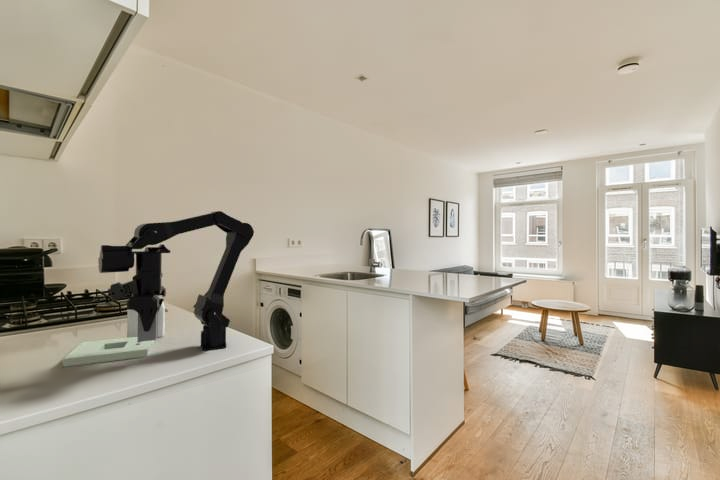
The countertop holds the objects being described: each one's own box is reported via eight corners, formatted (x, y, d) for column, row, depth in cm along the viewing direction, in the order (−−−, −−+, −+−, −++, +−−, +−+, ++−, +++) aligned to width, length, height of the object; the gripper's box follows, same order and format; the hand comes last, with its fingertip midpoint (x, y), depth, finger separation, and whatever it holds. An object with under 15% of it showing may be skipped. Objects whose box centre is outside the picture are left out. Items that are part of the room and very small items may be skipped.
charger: (157, 335, 88) (158, 306, 88) (155, 340, 85) (156, 309, 85) (140, 337, 87) (140, 307, 87) (137, 341, 83) (137, 310, 83)
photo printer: (164, 333, 110) (164, 297, 110) (165, 337, 106) (165, 299, 106) (127, 338, 104) (127, 300, 104) (126, 342, 101) (126, 302, 100)
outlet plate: (155, 339, 104) (155, 332, 104) (147, 356, 89) (147, 348, 89) (84, 346, 96) (84, 339, 96) (62, 366, 82) (62, 358, 82)
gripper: (120, 267, 91) (119, 323, 91) (100, 275, 74) (99, 343, 74) (166, 266, 95) (165, 319, 96) (157, 274, 78) (156, 337, 79)
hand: (148, 329), depth 86 cm, fingers closed on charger, 4 cm apart
